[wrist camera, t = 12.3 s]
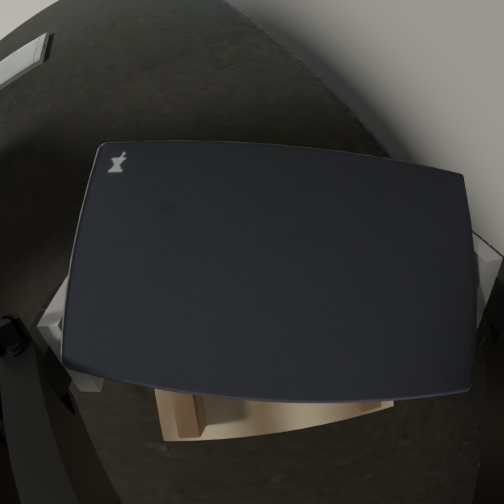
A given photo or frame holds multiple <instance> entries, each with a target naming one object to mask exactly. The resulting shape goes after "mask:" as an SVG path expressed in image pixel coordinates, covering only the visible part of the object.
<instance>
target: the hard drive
mask: <svg viewBox="0 0 504 504" xmlns="http://www.w3.org/2000/svg"><path fill="white" fill-rule="evenodd" d="M48 39H49V34H48V33H45V34H43V35H42V36H40V37H38V38H36V39H35V40H33V41H31V42H30V43H28V44H26V45H25V46H23V47H22V48H20V49H18V50H17V51H15V52H14V53H12V54H11V55H9V56H8V57H7V58H5V59H4V60H2V61H1V62H0V90H1V89H3V88H4V87H6V86H7V85H9V84H10V83H11V82H13V81H14V80H16V79H17V78H19V77H21V76H22V75H24V74H25V73H27V72H28V71H30V70H32V69H33V68H35V67H37V66H38V65H40V64H42V63H43V60H44V55H45V51H46V47H47V43H48Z"/></svg>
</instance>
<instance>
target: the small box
mask: <svg viewBox="0 0 504 504" xmlns="http://www.w3.org/2000/svg"><path fill="white" fill-rule="evenodd" d="M476 333H477V282H476V269H475V253H474V244H473V234H472V226H471V219H470V212H469V207H468V200H467V195H466V189H465V184H464V177H463V175H462V174H460V173H455V172H451V171H447V170H442V169H437V168H433V167H429V166H424V165H419V164H414V163H410V162H404V161H399V160H393V159H388V158H381V157H375V156H371V155H364V154H356V153H350V152H343V151H335V150H326V149H318V148H310V147H299V146H288V145H278V144H262V143H246V142H229V141H185V140H172V141H130V142H106V143H103V144H102V145H100V146H99V148H98V149H97V152H96V156H95V159H94V162H93V166H92V170H91V173H90V178H89V181H88V184H87V188H86V192H85V196H84V200H83V204H82V207H81V211H80V215H79V220H78V225H77V229H76V234H75V239H74V244H73V250H72V255H71V259H70V266H69V273H68V279H67V285H66V291H65V300H64V311H63V319H62V333H61V351H60V362H61V364H62V366H64V367H65V368H68V369H70V370H74V371H77V372H81V373H86V374H90V375H93V376H96V377H101V378H105V379H110V380H114V381H119V382H123V383H128V384H133V385H138V386H143V387H148V388H154V389H159V390H165V391H171V392H178V393H185V394H192V395H199V396H207V397H216V398H226V399H237V400H249V401H263V402H282V403H362V402H380V401H395V400H406V399H417V398H426V397H434V396H442V395H448V394H455V393H461V392H466V391H468V390H469V389H470V387H471V384H472V377H473V370H474V363H475V351H476Z"/></svg>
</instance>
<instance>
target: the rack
mask: <svg viewBox="0 0 504 504" xmlns="http://www.w3.org/2000/svg"><path fill="white" fill-rule="evenodd" d="M155 395H156V401H157V406H158V412H159V418H160V423H161V428H162V433H163V438H164V441H192V440H212V439H226V438H237V437H246V436H255V435H263V434H270V433H277V432H284V431H290V430H296V429H302V428H307V427H312V426H317V425H322V424H327V423H331V422H336V421H340V420H344V419H348V418H352V417H356V416H360V415H364V414H368V413H371V412H375V411H378V410H382V409H385V408H388V407H392V406H394V405H393V401H380V402H362V403H282V402H263V401H249V400H237V399H226V398H216V397H207V396H199V395H192V394H185V393H178V392H171V391H165V390H159V389H155Z"/></svg>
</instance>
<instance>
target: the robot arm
mask: <svg viewBox="0 0 504 504" xmlns="http://www.w3.org/2000/svg"><path fill="white" fill-rule="evenodd" d="M472 234H473V244H474V253H475V269H476V282H477V328H478V326H479V323H480V321H481V319H482V316H483V314H484V315H485V317H486V318H487V319H488V320H489V321H488V323H487V325H486V328H485V330H484V332H483V334H482V336H481V339H480V341H479V343H478V348H480V347H481V345H482V343H483V342H484V341H485V340H486V345H485V347H484V349H486V363H487V387H486V412H485V425H484V435H483V444H482V452H481V459H480V466H479V471H478V477H477V482H476V487H475V492H474V497H473V501H472V504H504V256H503V255H501V254H500V253H499V252H498V251H497V250H495V249H494V248H493V247H492V246H491V245H489V244H488V243H487V242H486V241H485V240H482V238H481V237H480V236H479V235H477V234H476V233H475V232H473V231H472ZM67 279H68V276H67V277H66V279H65V280H64V282H63V283H61V284H60V285H58V286H57V287H56V288H55V289H54V290H53V291H52V292H51V294H50V295H49V297H48V298H47V300H46V303H44V305H43V307H42V308H41V311H39V313H38V315H37V316H36V318H35V320H34V321H33V323H32V325H31V327H30V328H29V330H27V328H26V327H25V325H24V323H23V322H22V320H21V318H20V317H19V315H18V313H16V312H14V311H12V312H6V313H4V314H1V315H0V504H122V502H121V500H120V498H119V496H118V495H117V493H116V491H115V489H114V487H113V485H112V483H111V482H110V480H109V478H108V476H107V474H106V472H105V470H104V468H103V466H102V464H101V461H100V459H99V457H98V455H97V453H96V451H95V448H94V446H93V444H92V442H91V439H90V437H89V434H88V432H87V430H86V427H85V425H84V422H83V420H82V417H81V414H80V412H79V409H78V406H77V404H76V401H75V398H74V396H73V394H72V393H71V391H70V390H69V386H70V383H71V380H73V382H74V383H75V384H76V386H77V387H78V388H79V390H80V391H89V392H101V389H102V385H103V381H104V378H101V377H96V376H93V375H90V374H86V373H81V372H77V371H74V370H70V369H68V368H65V367H64V366H62V364H61V362H60V351H61V333H62V319H63V311H64V300H65V291H66V285H67Z"/></svg>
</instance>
